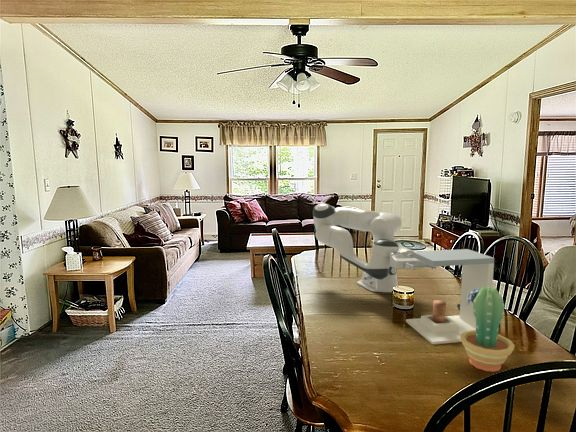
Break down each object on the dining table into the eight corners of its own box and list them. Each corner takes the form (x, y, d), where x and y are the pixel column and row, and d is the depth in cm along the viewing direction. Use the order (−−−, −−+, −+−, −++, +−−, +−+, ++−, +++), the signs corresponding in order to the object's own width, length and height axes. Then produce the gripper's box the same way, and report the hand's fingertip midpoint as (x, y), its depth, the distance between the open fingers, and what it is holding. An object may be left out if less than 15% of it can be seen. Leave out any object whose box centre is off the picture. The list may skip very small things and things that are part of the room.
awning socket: (405, 321, 151) (408, 249, 147) (459, 317, 155) (463, 247, 151) (432, 344, 132) (436, 262, 128) (492, 339, 135) (498, 259, 132)
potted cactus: (494, 351, 126) (499, 280, 123) (524, 376, 111) (531, 296, 108) (450, 352, 126) (453, 281, 123) (474, 378, 111) (479, 297, 107)
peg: (431, 327, 143) (432, 303, 142) (433, 323, 147) (434, 299, 145) (443, 330, 141) (445, 305, 139) (445, 325, 145) (446, 301, 143)
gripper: (428, 264, 169) (446, 273, 155) (386, 266, 165) (401, 275, 151) (429, 251, 168) (447, 259, 154) (387, 252, 164) (402, 260, 150)
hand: (424, 267), depth 153 cm, fingers open, 8 cm apart
